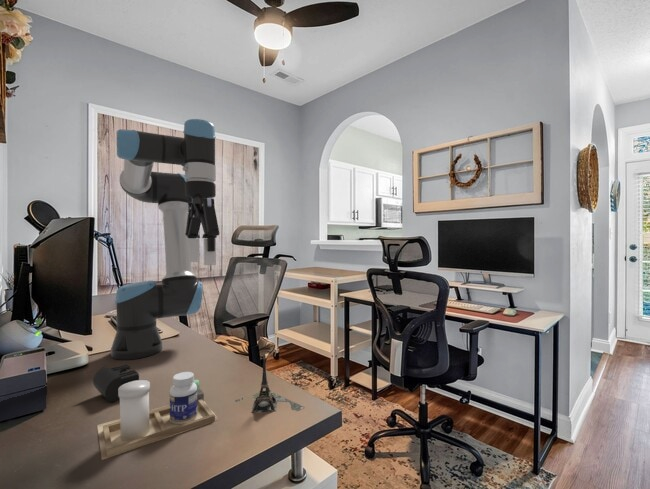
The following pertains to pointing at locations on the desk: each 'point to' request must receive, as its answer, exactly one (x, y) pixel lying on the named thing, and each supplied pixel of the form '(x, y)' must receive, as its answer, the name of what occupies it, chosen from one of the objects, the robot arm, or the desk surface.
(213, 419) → the wooden compartment tray
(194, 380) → the button
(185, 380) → the pill bottle
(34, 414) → the desk surface
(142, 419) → the seated billet
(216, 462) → the desk surface
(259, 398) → the eiffel tower figurine
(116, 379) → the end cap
